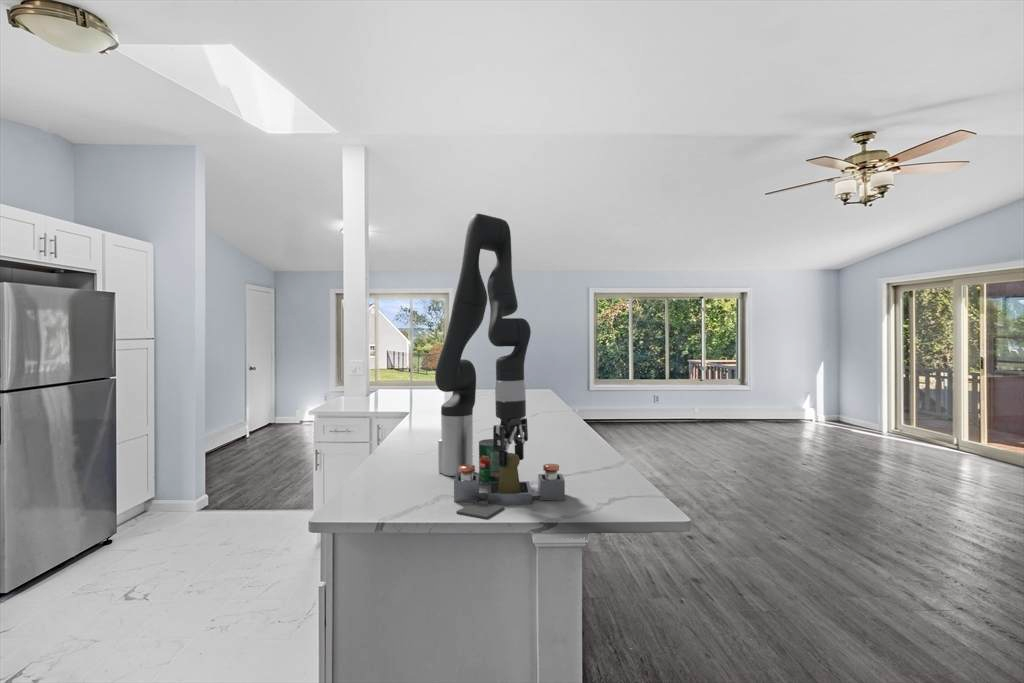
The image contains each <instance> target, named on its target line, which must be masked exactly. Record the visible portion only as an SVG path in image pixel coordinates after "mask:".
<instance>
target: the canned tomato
mask: <svg viewBox="0 0 1024 683" xmlns="http://www.w3.org/2000/svg"><path fill="white" fill-rule="evenodd" d="M498 443H499V441H498V440H497V445H498ZM504 447H505V443H504ZM478 465H479V466H478V472H479V473H478V475H479V483H480V482H481V483H484V484H483V485H485V484H488V482H499V479H500V471H501V467H500V466H499V452H498V451H497V450H493V438H489V439H488V438H486V439H482V440H479V441H478ZM481 483H480V484H481Z"/></svg>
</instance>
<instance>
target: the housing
mask: <svg viewBox="0 0 1024 683" xmlns="http://www.w3.org/2000/svg"><path fill="white" fill-rule="evenodd" d="M537 477H538V478H537V479H538V480H537V483H538V485H537V488H538V489H537V492H536V491H532V487H531V483H530V481H519V483H520V491H526V492H521V493H498V487H499V482H488V485H487V492H480V482H479V474H473V480H461V475H456V476H454V480H453V503H469V501H470V503H473V502H475V501H479V502H480V501H482V500H481V499H488V500H487V504H493V505H532V504H533V500H539V501H540V500H566V495H565V494H566V490H565V489H566V487H565V486H566V484H565V482H566V481H565V478H564V475H563V474H562V473H557V479H554V480H545V473H538V474H537ZM539 498H540V499H539Z"/></svg>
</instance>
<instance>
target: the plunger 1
mask: <svg viewBox="0 0 1024 683" xmlns="http://www.w3.org/2000/svg"><path fill="white" fill-rule="evenodd" d="M475 471H476V466H475V465H474V464H473V465H461V466H459V472H461V480H473V475H474V472H475Z"/></svg>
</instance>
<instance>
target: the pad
mask: <svg viewBox="0 0 1024 683" xmlns="http://www.w3.org/2000/svg"><path fill="white" fill-rule="evenodd" d="M503 510H505V506H503V505H500V504H488V502H486V503H485V502H481V501H479V502H470V504H467V505H466V506H463V507H462V508H460V509H458V510H456V514H459V515H464V516H468V517H474V518H479V519H484V520H488V519H489V518H491V517H493V516H494V515H497V514H498V513H499V512H501V511H503Z"/></svg>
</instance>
